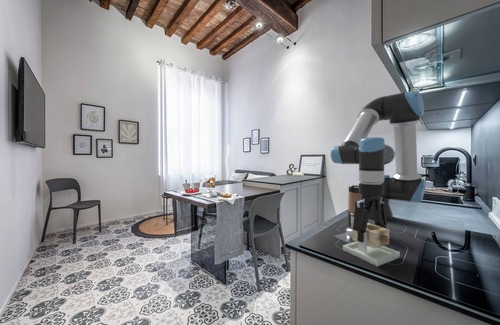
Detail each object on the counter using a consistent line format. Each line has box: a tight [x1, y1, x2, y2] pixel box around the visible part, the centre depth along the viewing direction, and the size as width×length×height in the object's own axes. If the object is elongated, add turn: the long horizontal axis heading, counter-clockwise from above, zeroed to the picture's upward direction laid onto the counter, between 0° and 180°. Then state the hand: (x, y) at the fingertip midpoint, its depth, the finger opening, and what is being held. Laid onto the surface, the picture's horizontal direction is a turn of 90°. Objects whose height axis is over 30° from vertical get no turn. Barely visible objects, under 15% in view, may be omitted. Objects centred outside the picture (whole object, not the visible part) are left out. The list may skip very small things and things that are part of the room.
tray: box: [342, 242, 401, 267], centre depth 72 cm, size 12×12×2 cm
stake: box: [333, 213, 357, 244], centre depth 85 cm, size 11×11×11 cm
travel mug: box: [347, 184, 365, 227], centre depth 96 cm, size 8×8×20 cm
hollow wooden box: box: [352, 222, 390, 249], centre depth 72 cm, size 8×9×5 cm
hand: (370, 248), depth 72 cm, fingers closed on hollow wooden box, 8 cm apart
